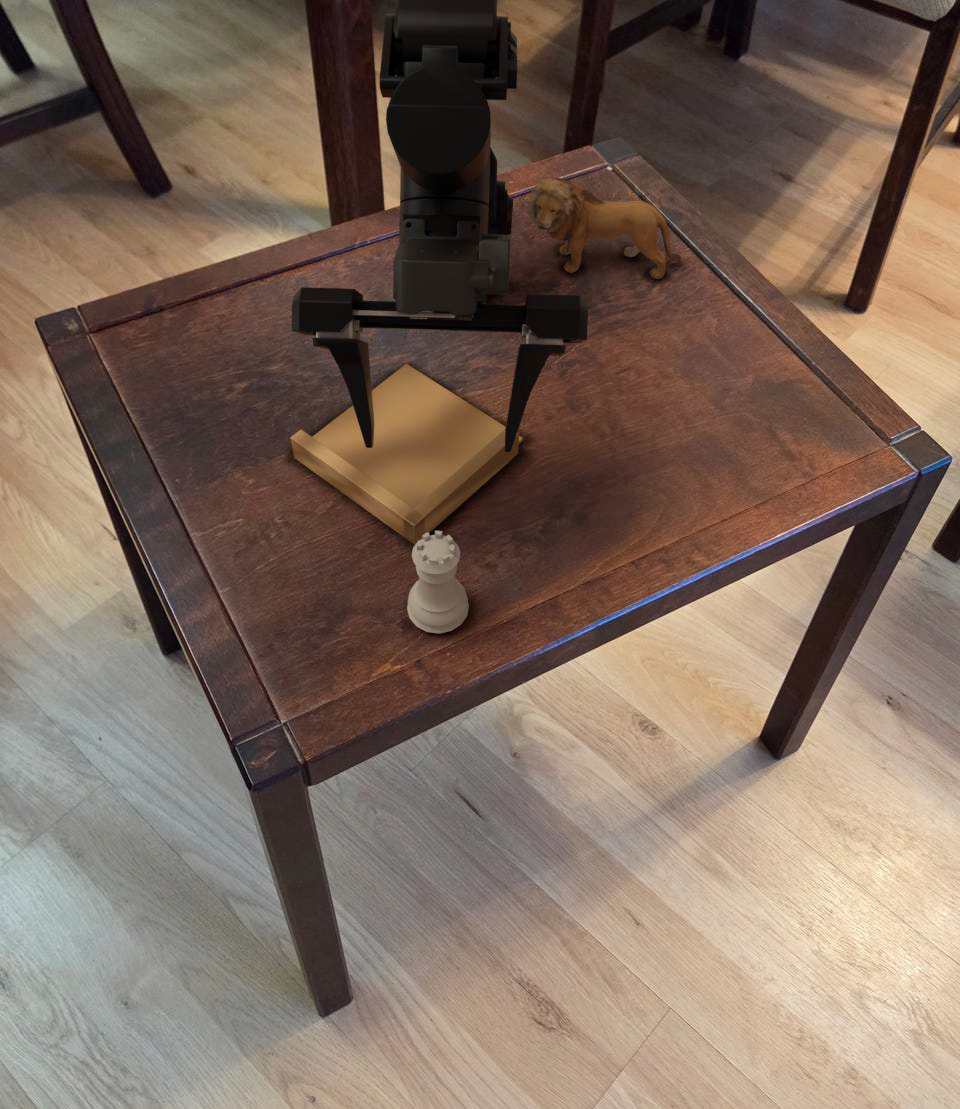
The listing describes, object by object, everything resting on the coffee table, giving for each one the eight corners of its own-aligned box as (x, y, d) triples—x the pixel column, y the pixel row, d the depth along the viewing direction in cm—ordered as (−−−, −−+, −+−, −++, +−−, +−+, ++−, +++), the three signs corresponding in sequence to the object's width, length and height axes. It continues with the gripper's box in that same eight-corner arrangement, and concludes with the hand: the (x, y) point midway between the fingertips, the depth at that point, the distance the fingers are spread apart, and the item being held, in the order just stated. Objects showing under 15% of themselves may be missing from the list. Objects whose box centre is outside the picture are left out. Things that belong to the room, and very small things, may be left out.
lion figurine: (526, 283, 98) (531, 199, 90) (523, 246, 101) (527, 163, 93) (684, 280, 98) (701, 197, 91) (675, 244, 101) (692, 161, 94)
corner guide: (291, 456, 85) (287, 435, 83) (406, 366, 91) (405, 345, 89) (415, 545, 80) (414, 525, 78) (528, 444, 86) (530, 423, 84)
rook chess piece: (477, 595, 77) (478, 529, 71) (456, 644, 75) (455, 581, 68) (420, 578, 78) (416, 511, 72) (398, 626, 76) (391, 562, 69)
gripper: (273, 177, 60) (273, 452, 62) (602, 186, 60) (589, 462, 62) (307, 210, 71) (306, 443, 73) (585, 218, 71) (575, 451, 73)
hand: (438, 449), depth 70 cm, fingers open, 9 cm apart
